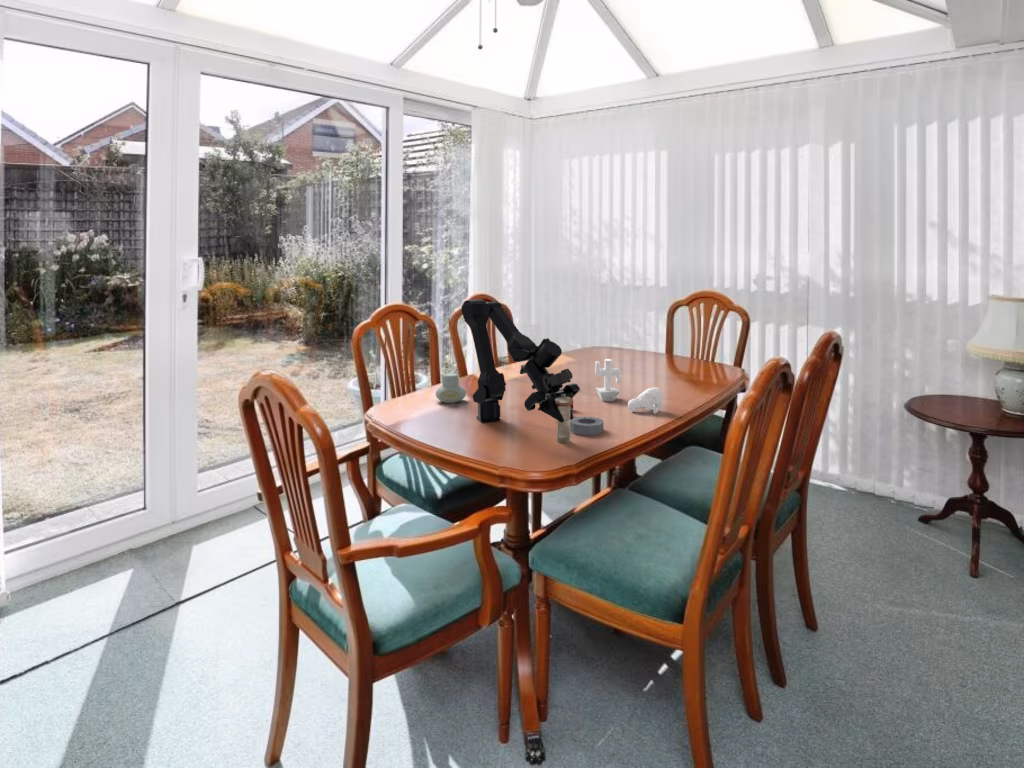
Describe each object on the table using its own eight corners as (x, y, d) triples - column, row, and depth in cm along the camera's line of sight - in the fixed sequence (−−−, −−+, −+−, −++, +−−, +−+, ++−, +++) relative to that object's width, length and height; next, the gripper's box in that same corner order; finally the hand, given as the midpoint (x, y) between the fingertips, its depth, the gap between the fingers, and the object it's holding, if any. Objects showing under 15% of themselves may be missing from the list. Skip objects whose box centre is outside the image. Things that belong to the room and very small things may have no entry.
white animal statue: (663, 389, 214) (629, 392, 214) (664, 413, 216) (630, 416, 216) (658, 385, 220) (625, 388, 220) (660, 408, 222) (626, 412, 222)
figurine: (622, 401, 233) (623, 360, 230) (596, 402, 232) (597, 361, 229) (617, 396, 240) (618, 357, 237) (592, 397, 239) (593, 357, 236)
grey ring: (578, 436, 191) (578, 426, 191) (565, 427, 200) (565, 418, 200) (608, 433, 194) (609, 423, 194) (594, 424, 204) (594, 415, 203)
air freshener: (434, 404, 230) (433, 377, 228) (437, 398, 238) (436, 372, 236) (465, 404, 230) (464, 376, 228) (466, 398, 238) (466, 372, 236)
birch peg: (560, 444, 184) (560, 400, 181) (554, 440, 188) (555, 396, 185) (572, 442, 185) (573, 398, 183) (567, 438, 189) (567, 395, 186)
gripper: (531, 364, 178) (560, 410, 173) (576, 356, 191) (604, 399, 185) (512, 388, 185) (539, 432, 180) (556, 378, 198) (582, 420, 192)
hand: (567, 420), depth 184 cm, fingers closed on birch peg, 4 cm apart
